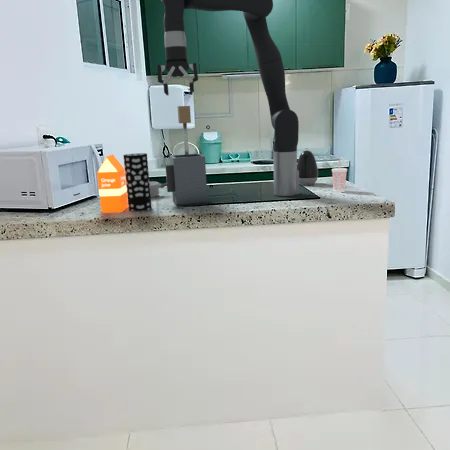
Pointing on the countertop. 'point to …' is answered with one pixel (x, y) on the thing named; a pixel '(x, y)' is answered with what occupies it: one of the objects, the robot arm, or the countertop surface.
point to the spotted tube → (137, 182)
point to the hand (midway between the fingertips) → (179, 94)
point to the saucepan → (155, 188)
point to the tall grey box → (187, 180)
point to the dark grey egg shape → (307, 168)
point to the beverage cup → (339, 178)
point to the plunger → (184, 124)
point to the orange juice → (112, 186)
